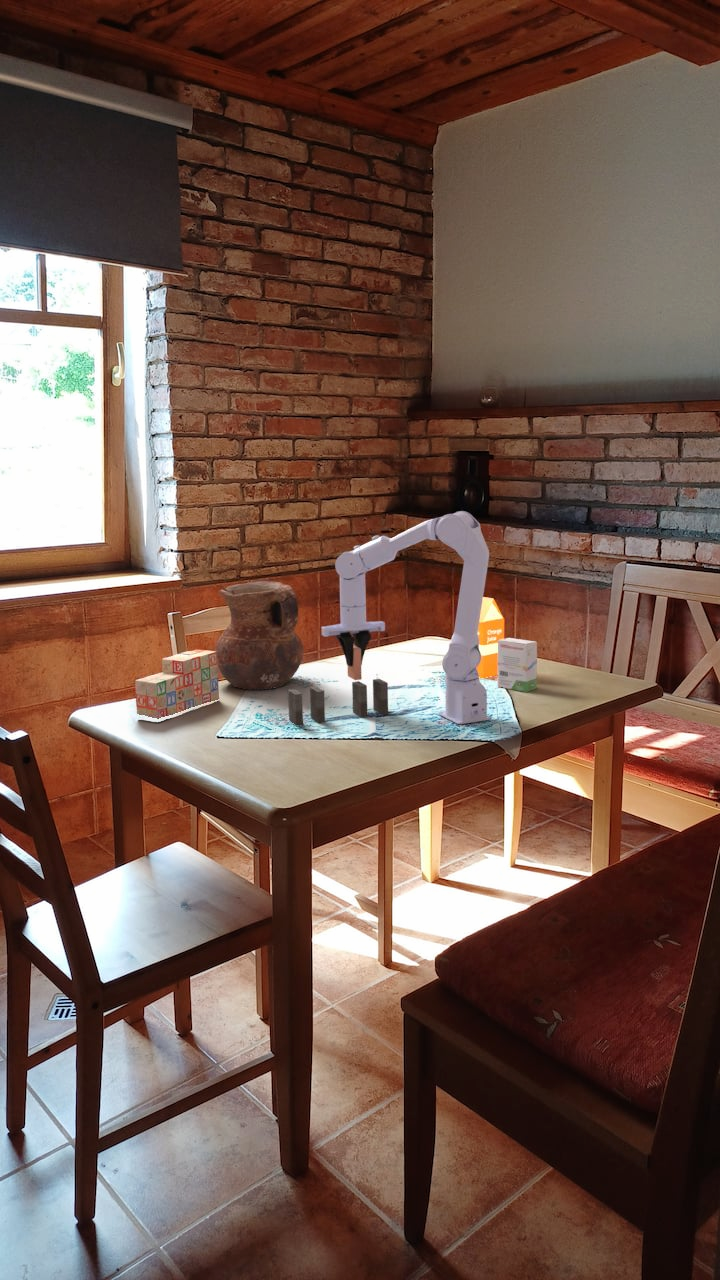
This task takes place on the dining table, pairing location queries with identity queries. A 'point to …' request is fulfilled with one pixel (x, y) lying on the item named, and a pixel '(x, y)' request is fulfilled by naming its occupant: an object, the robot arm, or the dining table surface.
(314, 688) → the tile
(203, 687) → the stack of blocks
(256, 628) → the jug
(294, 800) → the dining table surface
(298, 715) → the tile
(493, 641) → the orange juice
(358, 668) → the tile
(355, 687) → the tile
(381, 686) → the tile
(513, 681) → the ink box
